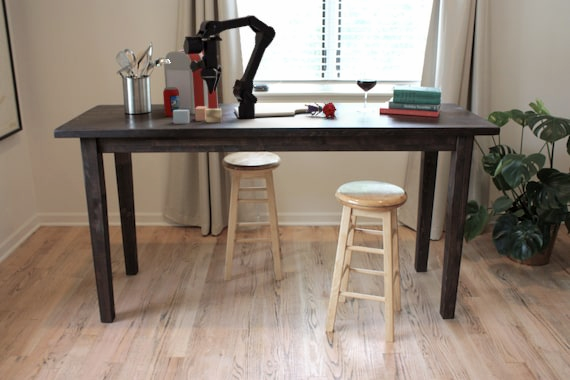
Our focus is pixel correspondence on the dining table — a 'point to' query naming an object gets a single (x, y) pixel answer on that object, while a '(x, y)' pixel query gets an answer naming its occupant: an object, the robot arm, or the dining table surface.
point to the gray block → (181, 116)
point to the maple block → (213, 115)
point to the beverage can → (171, 100)
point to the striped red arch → (188, 81)
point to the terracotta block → (200, 113)
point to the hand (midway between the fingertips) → (212, 92)
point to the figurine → (323, 109)
